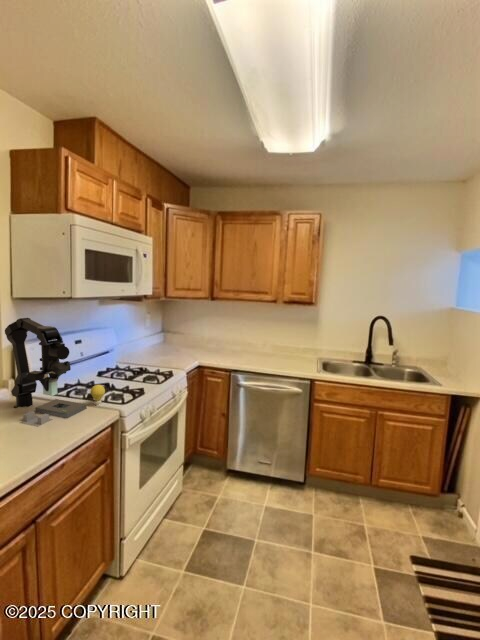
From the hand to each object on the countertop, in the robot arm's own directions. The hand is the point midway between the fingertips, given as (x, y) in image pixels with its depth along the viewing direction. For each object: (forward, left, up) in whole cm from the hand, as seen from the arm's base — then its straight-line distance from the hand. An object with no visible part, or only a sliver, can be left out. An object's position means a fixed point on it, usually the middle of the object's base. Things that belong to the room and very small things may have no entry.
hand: (50, 390), depth 158 cm
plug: (0, 0, -2) cm, 2 cm away
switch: (0, +6, -12) cm, 14 cm away
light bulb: (+9, +20, -13) cm, 25 cm away
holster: (-1, -7, -12) cm, 14 cm away
